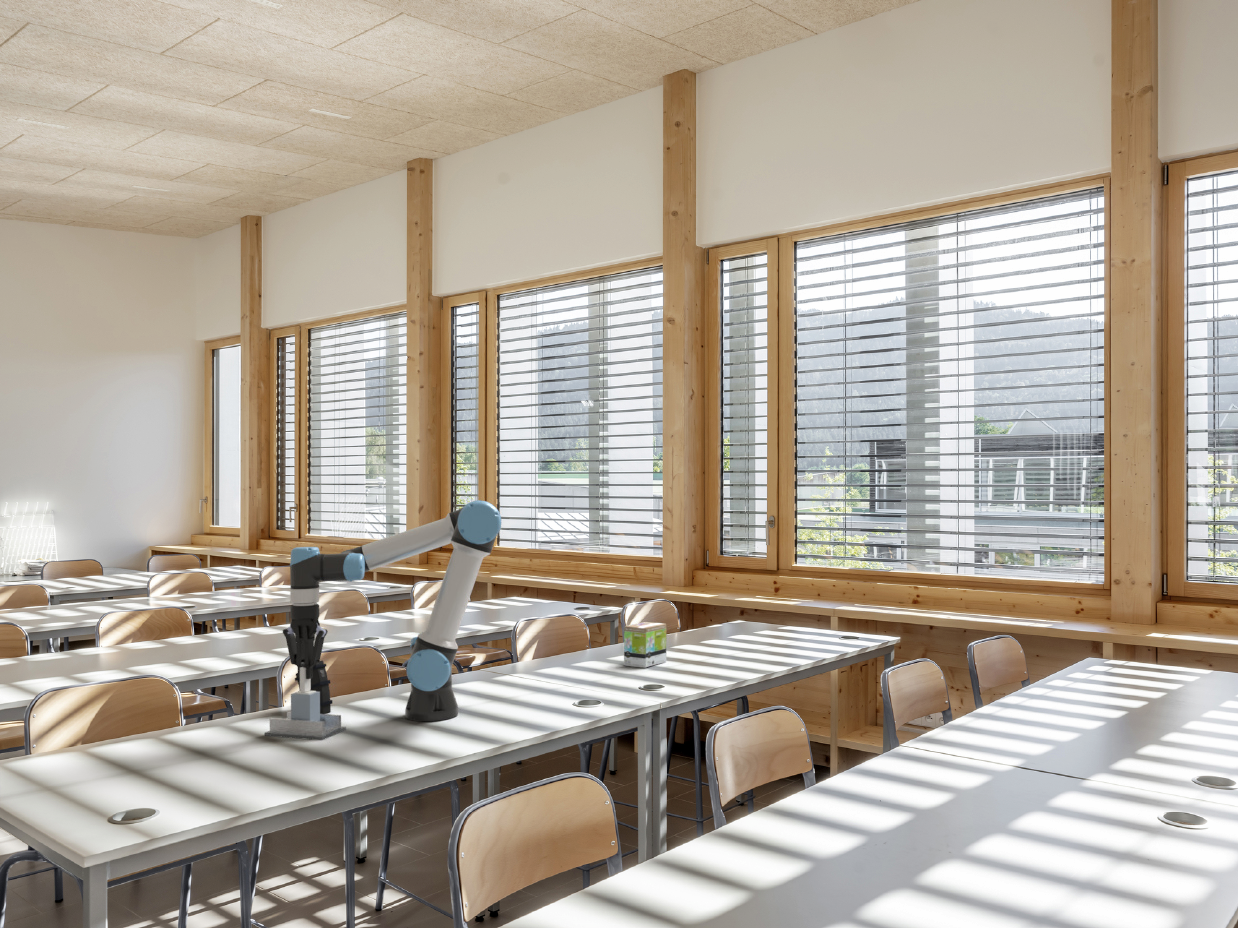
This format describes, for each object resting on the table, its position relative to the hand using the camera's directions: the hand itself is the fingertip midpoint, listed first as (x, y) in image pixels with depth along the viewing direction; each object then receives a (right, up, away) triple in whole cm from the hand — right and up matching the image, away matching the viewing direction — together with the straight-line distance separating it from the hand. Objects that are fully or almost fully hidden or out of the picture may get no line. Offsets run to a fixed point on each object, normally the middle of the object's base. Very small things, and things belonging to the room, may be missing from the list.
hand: (305, 690), depth 262 cm
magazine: (-6, -12, +26) cm, 30 cm away
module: (0, -10, 0) cm, 10 cm away
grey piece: (0, -11, 0) cm, 11 cm away
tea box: (+95, -13, +96) cm, 136 cm away
